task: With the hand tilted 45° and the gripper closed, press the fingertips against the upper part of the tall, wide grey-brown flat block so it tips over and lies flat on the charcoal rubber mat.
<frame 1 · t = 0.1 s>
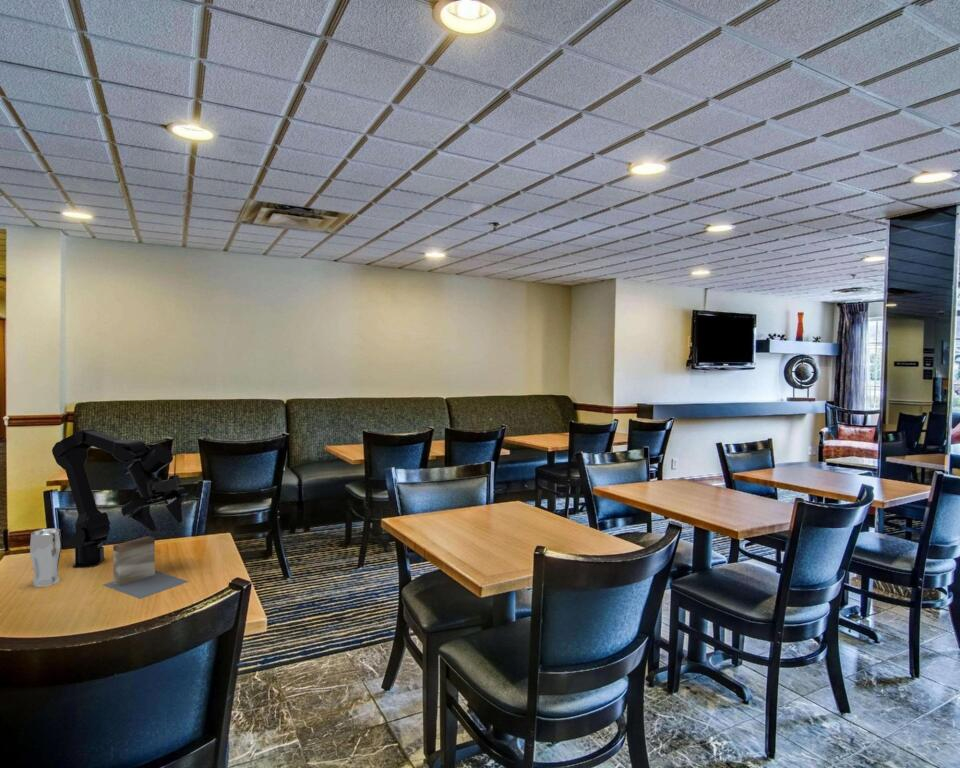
hand: (168, 526, 168), 15 cm above the table, tool tilted 35°, fingers open, 9 cm apart
beer glass: (46, 585, 161), on the table
grey-brown flat block: (134, 579, 165), resting on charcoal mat
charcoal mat: (146, 584, 162), on the table
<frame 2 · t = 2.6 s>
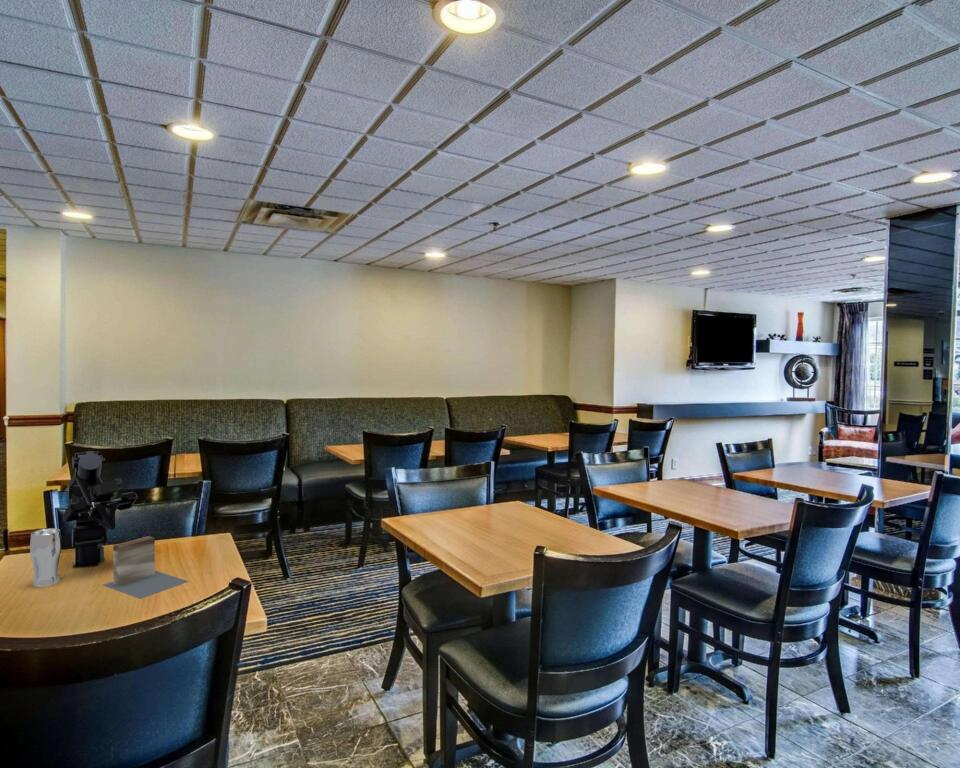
hand: (113, 529, 169), 13 cm above the table, tool tilted 45°, fingers closed
nothing on the table moved.
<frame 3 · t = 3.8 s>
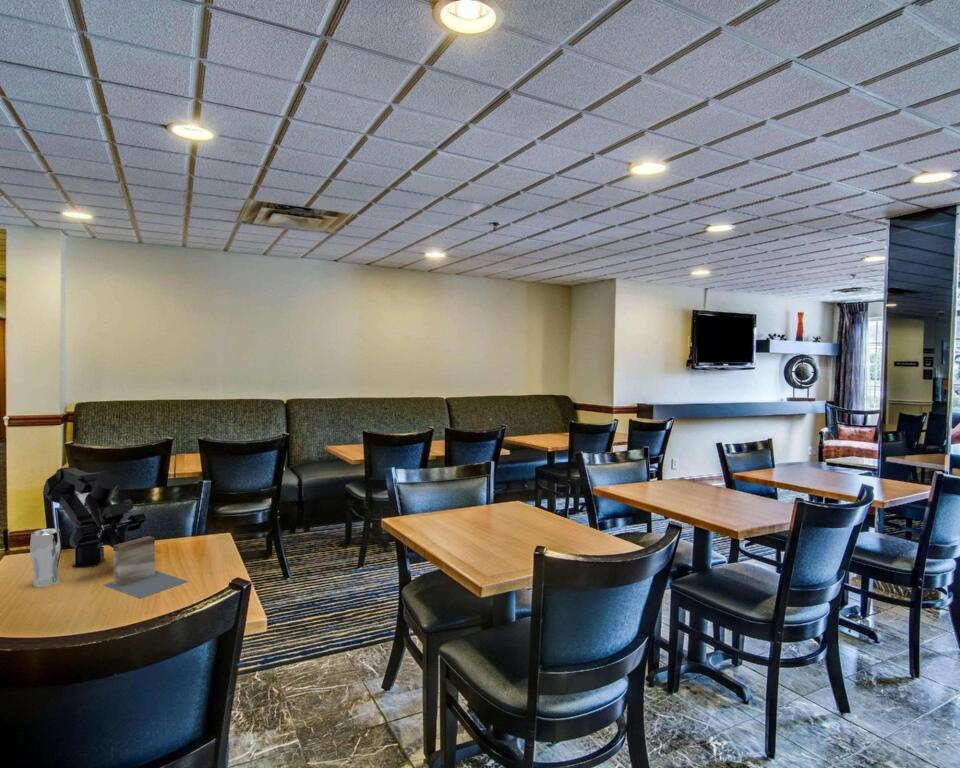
hand: (123, 551, 167), 8 cm above the table, tool tilted 45°, fingers closed
nothing on the table moved.
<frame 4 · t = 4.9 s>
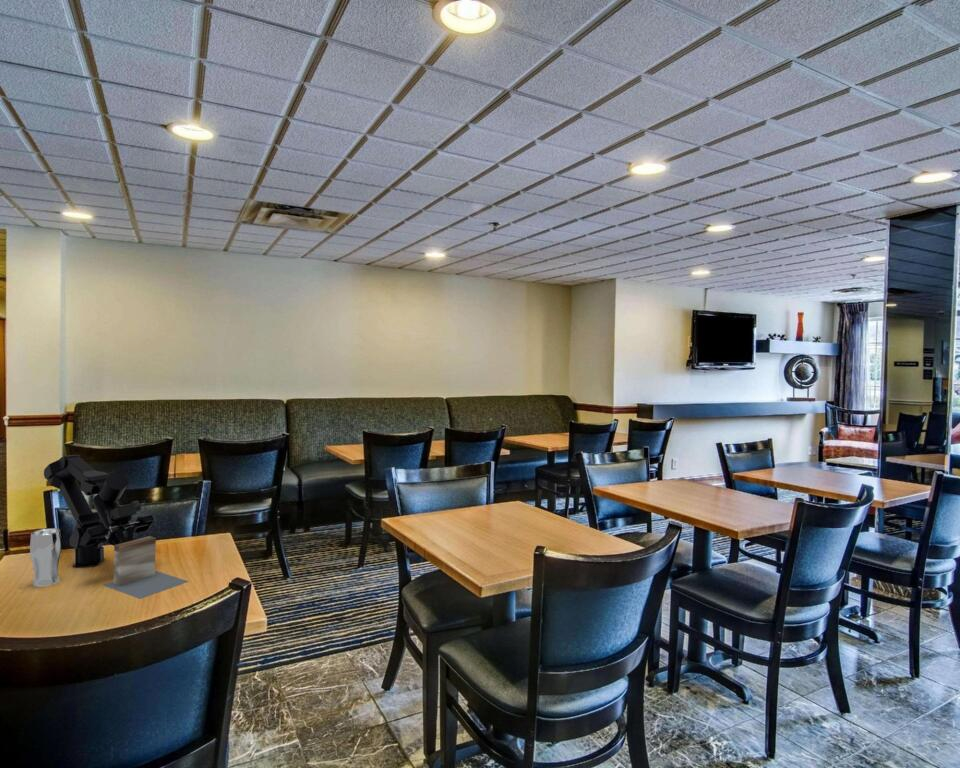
hand: (131, 553, 165), 8 cm above the table, tool tilted 45°, fingers closed
grey-brown flat block: (134, 579, 165), point 1 cm above the table, touching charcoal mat, gripper
everything else where it was.
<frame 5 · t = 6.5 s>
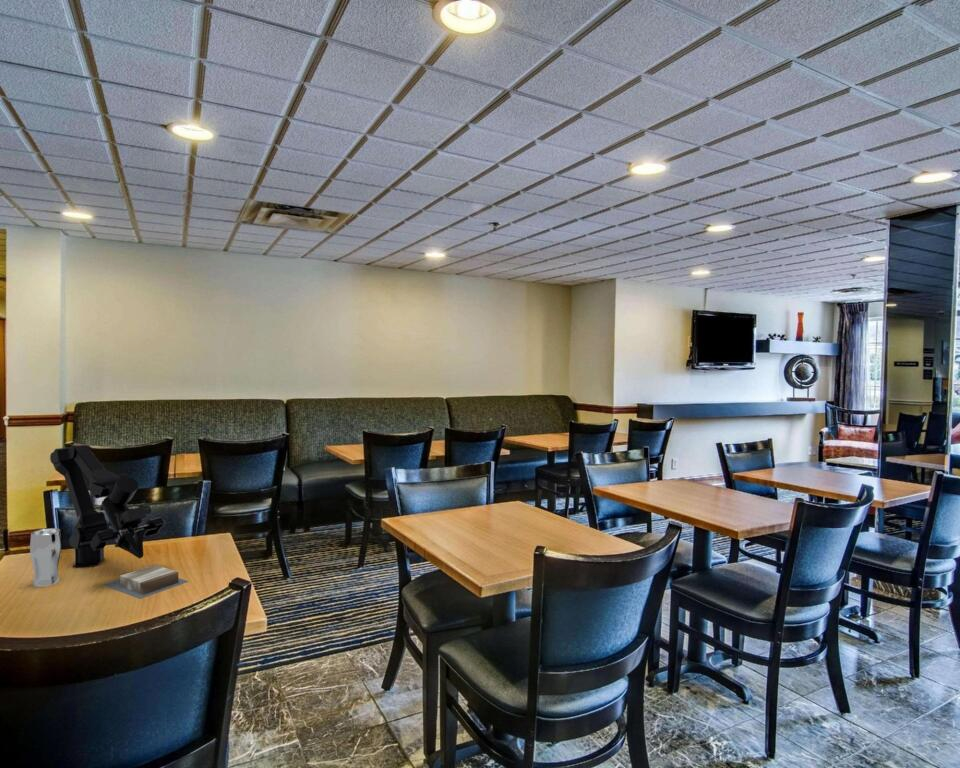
hand: (141, 557, 163), 8 cm above the table, tool tilted 45°, fingers closed
grey-brown flat block: (137, 575, 164), point 2 cm above the table, tilted 90°, touching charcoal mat
everything else where it was.
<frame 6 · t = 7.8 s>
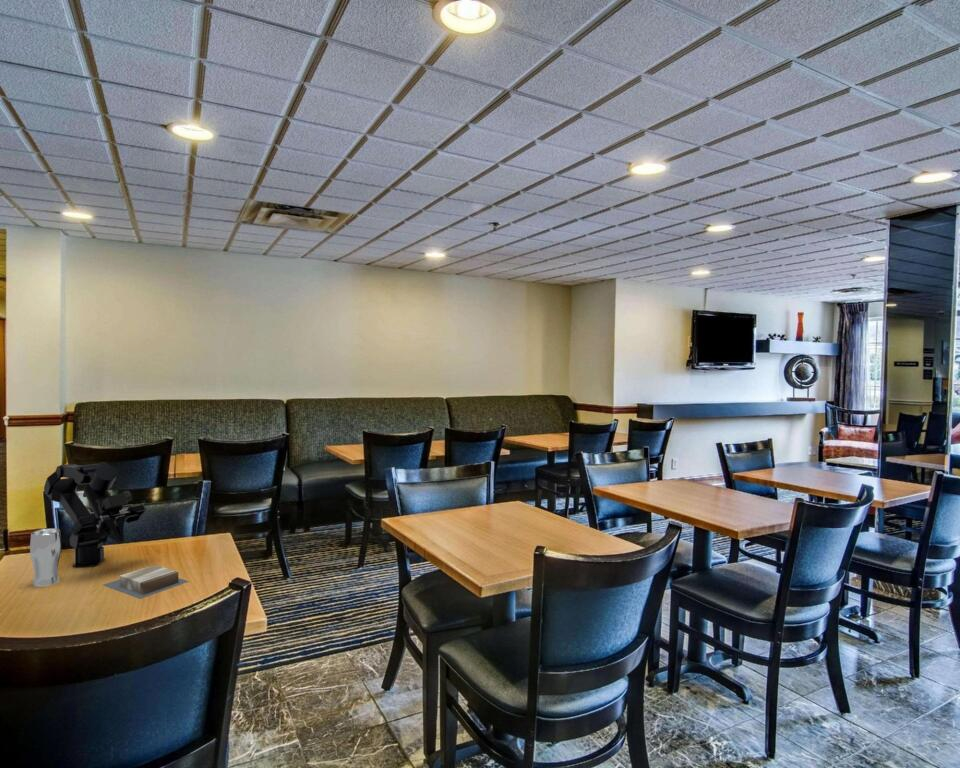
hand: (121, 542, 168), 10 cm above the table, tool tilted 45°, fingers closed
nothing on the table moved.
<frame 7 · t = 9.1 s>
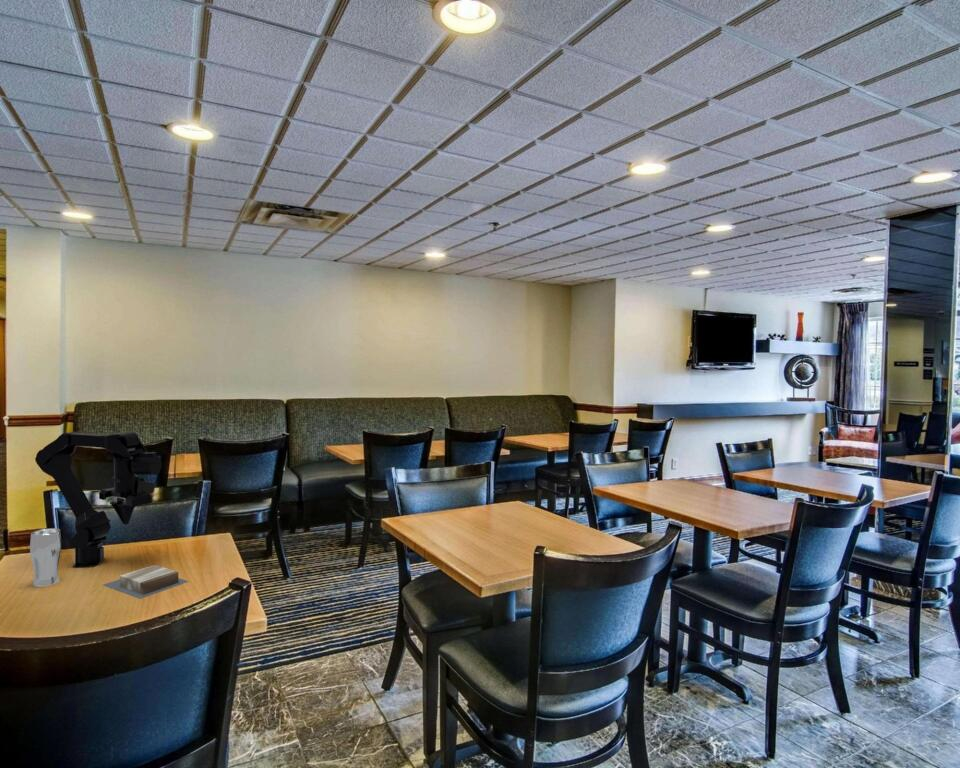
hand: (125, 524, 176), 13 cm above the table, tool pointing down, fingers closed
nothing on the table moved.
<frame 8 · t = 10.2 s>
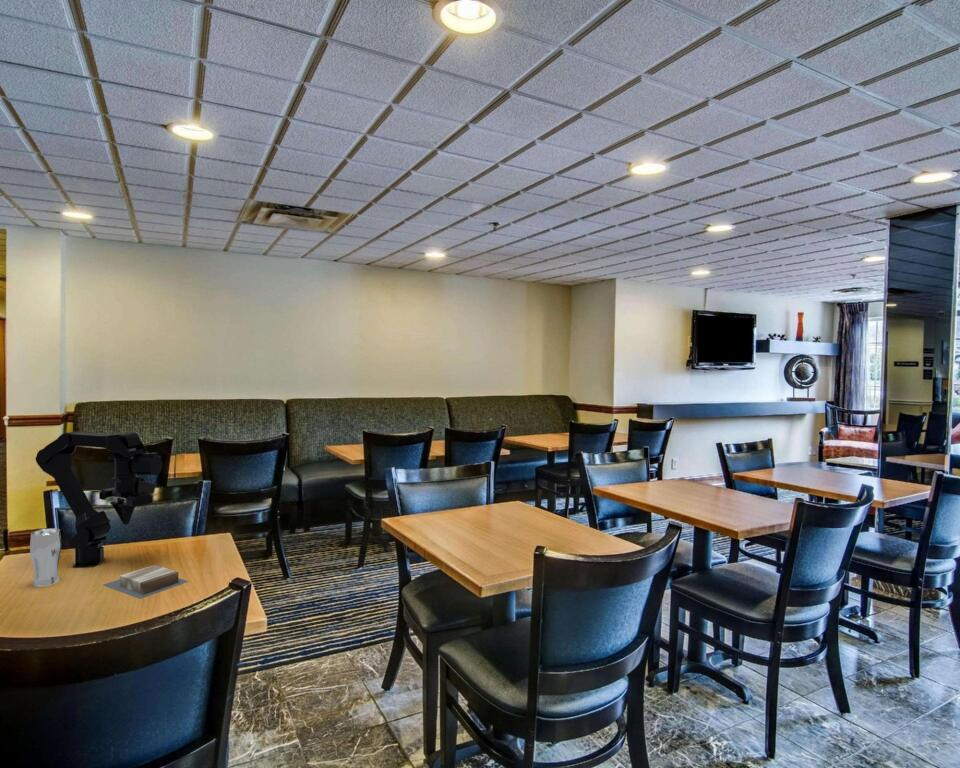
hand: (126, 524, 176), 13 cm above the table, tool pointing down, fingers closed
nothing on the table moved.
at the end: grey-brown flat block tilted 90°; grey-brown flat block touching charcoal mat; grey-brown flat block 3.9 cm from the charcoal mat (horizontally) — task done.
